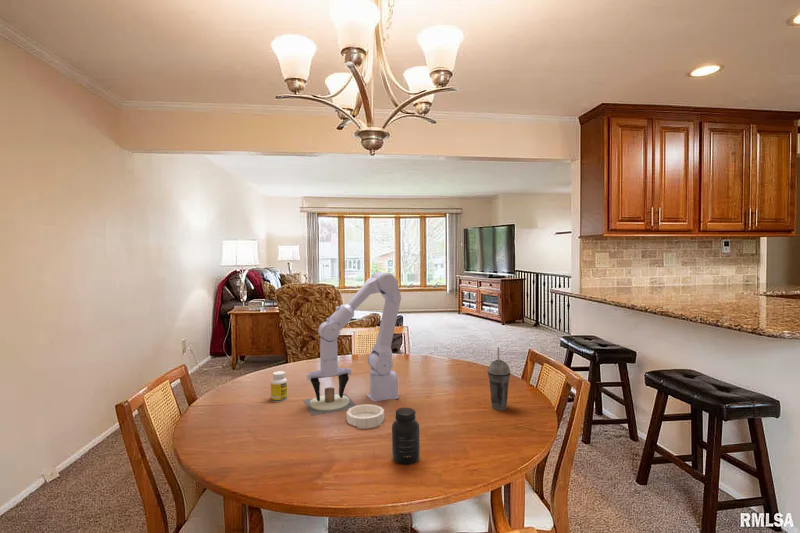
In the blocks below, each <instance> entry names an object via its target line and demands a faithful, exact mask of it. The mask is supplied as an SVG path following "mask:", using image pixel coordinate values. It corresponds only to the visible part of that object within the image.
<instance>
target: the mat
mask: <svg viewBox="0 0 800 533" xmlns="http://www.w3.org/2000/svg"><path fill="white" fill-rule="evenodd" d="M343 395H344V396H347V397H348V398H349V405H348V406H347V407H345V408H342V409H339V410H335V411H318V410H314V409H312V408H311V407H310V401H311V400H312V399H313V398H312V397H311V398H306V399H303V402H304V404H305V406H306V407H307V408H306V409H307V410H308V412H309V414H310V416H317V415H318V416H319V415H324V414H330V413H331V414H332V413H337V412H343V411H348V409H349V408H352V407H354V406H357V405H356V404H355V402H353V400H352V399H351V398H350V397H349V396H348V394H347V393H343Z"/></svg>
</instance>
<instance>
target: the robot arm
mask: <svg viewBox="0 0 800 533" xmlns="http://www.w3.org/2000/svg"><path fill="white" fill-rule="evenodd" d="M377 293H378V294H379V293H380V294H381V296H382V297H383V299H384V305H383V310H382V314H381V319H380V323H379V327H378V328H379V330H378V333H377V338H376V342H375V343H374V345H373V346H372V350H371V351H370V353H369V355H368V356H367V365H368V366H369V367H370V370H369V393H366V396H367V397H368V398H369V399H370V400H371V401H372V402H379V401H385V400H386V401H387V400H397V399H398V400H399V399H400V398H399V380H398V375H397V374H398V373H396V371H395V370H393V367H394V366H393V365H394V364H393V350H392V347H391V346H392V344H393V343H392V342H393V338H394V335H395V334H394V333H395V328H396V323H397V319H398V314H399V310H400V304H401V300H402V295H401V291H400V287H399V280H398V279H397V278H396V276H395V275H394V274H392V273H391V272H382V271H376V272H374V273H373V274H372V275H371V277H368V278H367V280H366V281H365V282H364V284H362V286H361V287H360V288H359V290H357V291H356V293H355V294H354V295H353V297H352V298H351V299H350V300H349V301H348V302H347V303H346V304H345V303H344V304H343V303H342V304H340V306H339V305H337V306H336V307H335V311H334V312H333V313H332V314H331V315H330V316H329V317H326V319H325V321H324V322H321V323H320V325H319V326H318V329H317V333H318V335H319V336H320V337H319V338H320V339H319V340H320V341H319V342H320V344H319V353H320V355H319V358H320V362H319V363H320V370H316V371H312V372H307V373H306V380H307V381H310V382H311V385H312V387H313V390H314V393H315V397H316V398H317V401H320V396H321V394H320V388H321V386H320V385H321V382H320V379H325V378H331V377H332V378H333V377H338V394H339V396H340V398H343V394H344V391H345V389H346V386H347V383H348V381H349V380H350V379H349V378H350V376H352V369H351V368H350V367H346V368H345V367H343V368H339V363H338V360H339V359H338V357H339V356H338V354H339V353H338V338H339V336H340V333H341V330H343V328H344V327H346V325H347V324H348V323H349V322H350V321H351V320H352V318H354V317H355V310H356V309H357V308H359V306H361V304H363V302H365V301H366V299H367V298H368V297H369V296H371V295H374V294H377Z"/></svg>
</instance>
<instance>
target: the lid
mask: <svg viewBox="0 0 800 533" xmlns="http://www.w3.org/2000/svg"><path fill="white" fill-rule="evenodd" d="M347 396H348V395H347ZM347 396H344V395H343V398H340V396H339V393H338V394H337V393H335V388H334V387H332V386H331V387H330V386H329V387H326V388H324V394H323V395H321V394H320V401H317V398H316V396H315V397H314V398H313V399H312V398H311V399H312V400H311V401H310V407H311V408H312V409H314V410H318V411H335V410H339V409H342V408H345V407H347V406H348V405H349V398H350V397H349V396H348V397H349V398H348V397H347Z"/></svg>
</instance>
